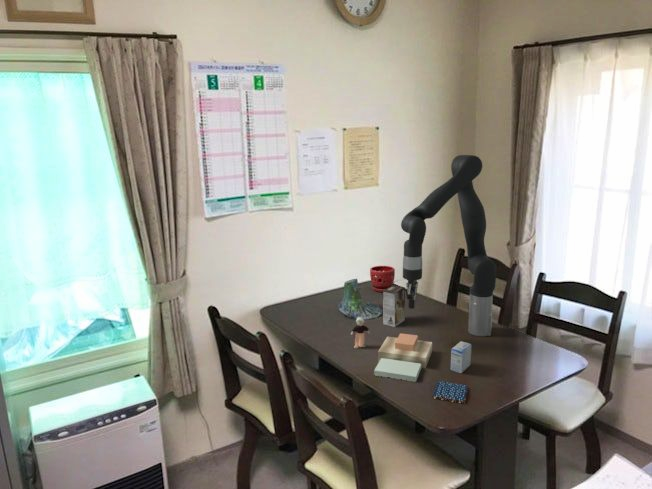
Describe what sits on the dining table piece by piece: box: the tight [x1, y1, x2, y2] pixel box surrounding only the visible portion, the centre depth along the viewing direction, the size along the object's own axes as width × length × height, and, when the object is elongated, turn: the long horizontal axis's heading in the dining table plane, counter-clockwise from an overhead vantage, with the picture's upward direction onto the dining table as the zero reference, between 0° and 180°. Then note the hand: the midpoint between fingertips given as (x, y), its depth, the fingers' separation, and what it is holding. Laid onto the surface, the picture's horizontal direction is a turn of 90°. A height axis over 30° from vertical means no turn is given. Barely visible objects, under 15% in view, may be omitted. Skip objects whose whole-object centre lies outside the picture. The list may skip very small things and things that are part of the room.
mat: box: [373, 358, 422, 383], centre depth 179 cm, size 15×10×2 cm, turn 69°
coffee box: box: [382, 284, 406, 328], centre depth 221 cm, size 9×6×16 cm
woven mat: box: [432, 380, 469, 404], centre depth 164 cm, size 10×11×2 cm
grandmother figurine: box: [350, 317, 371, 349], centre depth 199 cm, size 8×4×13 cm, turn 105°
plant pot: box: [369, 265, 396, 293], centre depth 266 cm, size 13×13×12 cm
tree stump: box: [338, 278, 383, 321], centre depth 235 cm, size 19×21×19 cm
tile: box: [395, 332, 419, 351], centre depth 191 cm, size 7×9×2 cm
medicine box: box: [450, 341, 472, 374], centre depth 180 cm, size 8×4×9 cm, turn 141°
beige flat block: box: [377, 336, 433, 369], centre depth 190 cm, size 18×14×4 cm
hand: (411, 307), depth 198 cm, fingers closed
